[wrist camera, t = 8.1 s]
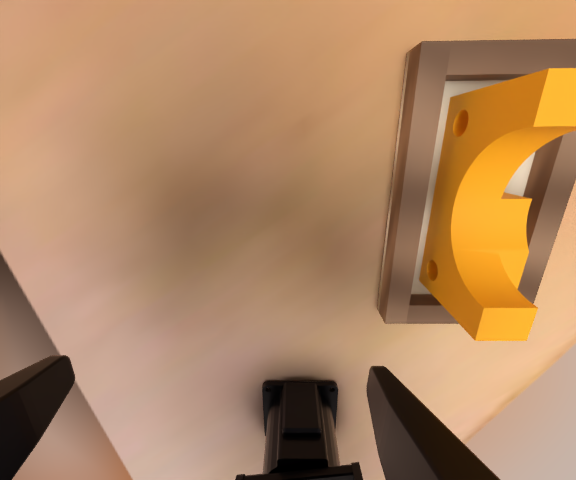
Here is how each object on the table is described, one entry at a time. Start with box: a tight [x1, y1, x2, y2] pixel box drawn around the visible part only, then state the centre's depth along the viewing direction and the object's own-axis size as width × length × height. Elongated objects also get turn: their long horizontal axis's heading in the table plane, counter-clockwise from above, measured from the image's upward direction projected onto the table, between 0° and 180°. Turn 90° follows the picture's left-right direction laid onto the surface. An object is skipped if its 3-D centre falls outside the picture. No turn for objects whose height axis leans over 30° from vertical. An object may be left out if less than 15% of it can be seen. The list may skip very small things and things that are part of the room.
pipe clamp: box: [419, 68, 576, 341], centre depth 15 cm, size 12×4×6 cm, turn 0°
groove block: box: [377, 39, 576, 324], centre depth 17 cm, size 17×10×2 cm, turn 1°
